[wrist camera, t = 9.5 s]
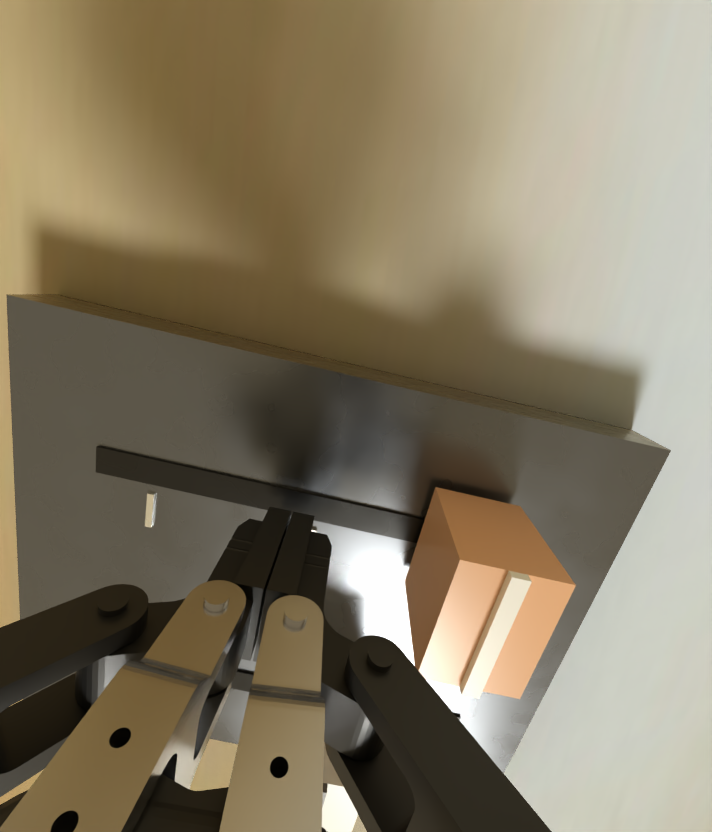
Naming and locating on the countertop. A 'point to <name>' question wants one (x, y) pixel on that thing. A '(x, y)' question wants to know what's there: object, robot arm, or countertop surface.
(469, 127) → the countertop surface
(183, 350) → the console
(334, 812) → the fader grey
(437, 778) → the robot arm
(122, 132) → the countertop surface
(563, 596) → the fader orange
